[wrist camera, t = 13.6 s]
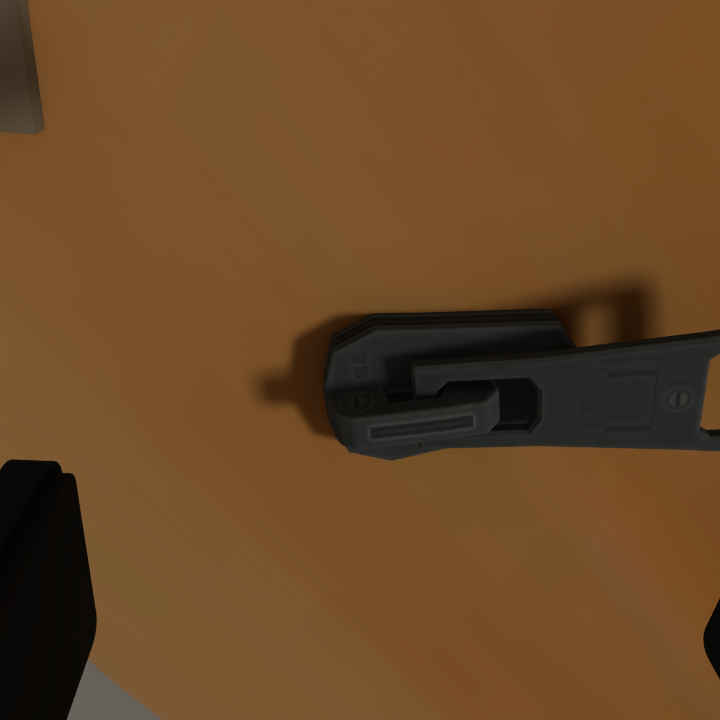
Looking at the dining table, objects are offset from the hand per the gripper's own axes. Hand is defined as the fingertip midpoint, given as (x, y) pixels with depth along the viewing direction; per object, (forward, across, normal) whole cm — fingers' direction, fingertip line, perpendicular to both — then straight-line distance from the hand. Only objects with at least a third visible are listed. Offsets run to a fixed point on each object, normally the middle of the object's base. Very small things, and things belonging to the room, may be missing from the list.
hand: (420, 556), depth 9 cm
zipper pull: (+29, -12, +12) cm, 33 cm away
